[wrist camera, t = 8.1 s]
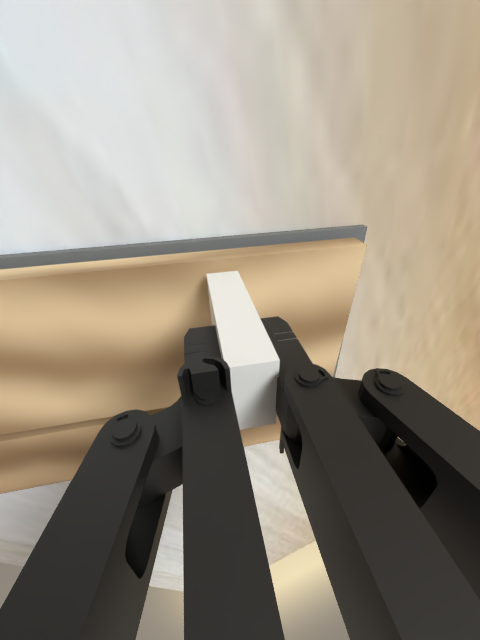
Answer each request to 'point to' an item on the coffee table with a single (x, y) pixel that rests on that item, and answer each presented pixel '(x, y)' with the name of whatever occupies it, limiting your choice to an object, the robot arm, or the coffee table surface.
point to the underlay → (180, 247)
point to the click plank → (151, 324)
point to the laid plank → (71, 451)
